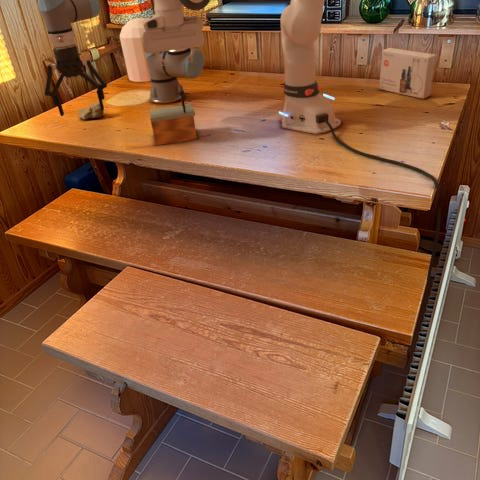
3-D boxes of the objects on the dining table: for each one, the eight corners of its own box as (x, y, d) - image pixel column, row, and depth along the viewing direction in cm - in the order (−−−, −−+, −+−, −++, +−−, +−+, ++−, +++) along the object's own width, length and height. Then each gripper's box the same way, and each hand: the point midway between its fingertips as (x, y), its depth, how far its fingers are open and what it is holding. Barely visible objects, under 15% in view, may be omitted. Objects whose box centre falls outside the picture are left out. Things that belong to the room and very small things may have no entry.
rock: (80, 117, 200) (78, 121, 191) (76, 102, 197) (75, 105, 188) (105, 114, 202) (105, 117, 193) (102, 99, 199) (101, 102, 190)
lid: (192, 107, 170) (188, 82, 165) (195, 115, 162) (191, 90, 157) (150, 113, 168) (145, 88, 163) (151, 122, 160) (146, 96, 155)
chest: (194, 129, 174) (190, 107, 170) (196, 139, 167) (193, 115, 162) (154, 135, 173) (150, 113, 168) (155, 145, 165) (151, 122, 160)
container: (160, 81, 233) (149, 21, 217) (121, 82, 238) (108, 23, 222) (174, 69, 249) (165, 13, 233) (138, 70, 254) (126, 15, 238)
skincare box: (377, 89, 194) (381, 50, 185) (385, 86, 197) (389, 47, 188) (423, 99, 180) (429, 56, 171) (430, 95, 183) (437, 53, 174)
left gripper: (21, 54, 142) (43, 120, 154) (103, 43, 145) (119, 110, 157) (26, 49, 148) (47, 113, 160) (104, 39, 151) (119, 103, 163)
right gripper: (200, 13, 152) (206, 57, 159) (138, 21, 149) (146, 65, 157) (203, 16, 146) (208, 61, 154) (138, 24, 144) (147, 69, 152)
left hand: (82, 112), depth 158 cm, fingers open, 13 cm apart
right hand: (176, 63), depth 156 cm, fingers open, 8 cm apart
